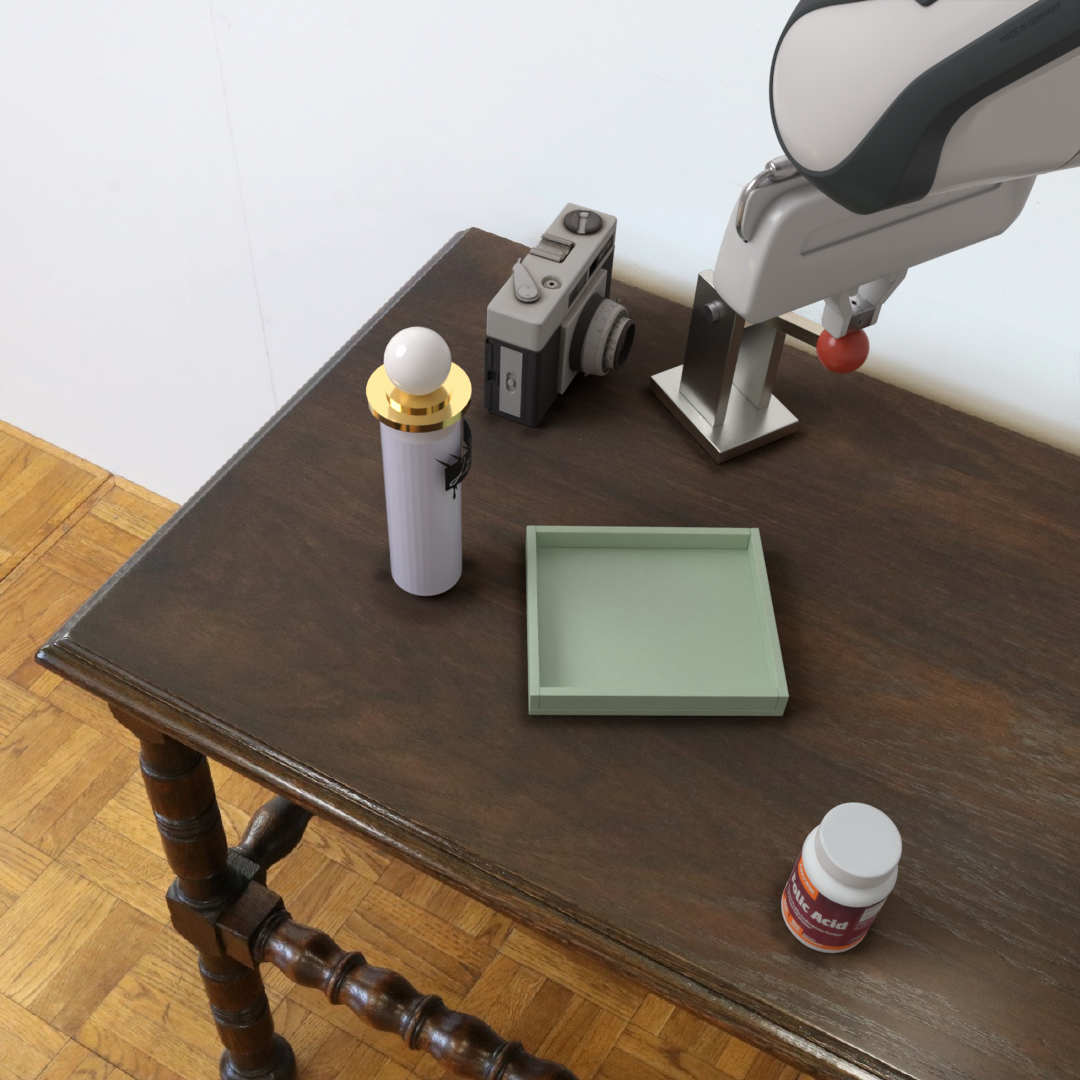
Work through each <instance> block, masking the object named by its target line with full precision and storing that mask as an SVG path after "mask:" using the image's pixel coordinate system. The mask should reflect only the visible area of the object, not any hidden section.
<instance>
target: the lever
mask: <svg viewBox="0 0 1080 1080" xmlns="http://www.w3.org/2000/svg"><path fill="white" fill-rule="evenodd" d="M762 323H764V324H767V325H769V326H771V327H773V328H775V329H777V330H779V331H781V332H783V333H786V335H788V336H790V337H792V338H794V339H797V340H799V341H801V342H803V343H805V344H807V345H809V346H811V347H814V348H815V351H816V355H817V359H818V361H819V363H820V364H821V365H822V366H823V367H824V368H825V369H826V370H827V371H830V372H831V373H834V374H840V375H845V374H850V373H852V372H855V371H857V370H859V369H860V368H861V367H862V366H863V365H864V364H865V362H867V361H866V360H867V359H868V357H869V354H870V349H871V347H870V345H871V344H870V339H869V336H868V334H867V332H866V331H865V330H864V328H863V329H861V330H858V331H855V332H852V333H850V334H847V335H845V336H843V337H840V338H837V339H836V338H834V337H833V336H832V335H831V334H830V333H828V332H827V331H826V330H825V329H824V328H823V326H822V324H820V323H819V322H815V320H814V321H813V320H811V319H809V318H807V317H805V316H802V315H800V314H798V313H795V312H794V311H792V312H788V313H785V314H783V315H780V316H777V317H775V318H772V319H769V320H767V321H764V322H762ZM752 325H755V324H752V323H749V322H748V321H745V326H744V328H746V327H749V326H752Z"/></svg>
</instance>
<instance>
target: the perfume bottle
mask: <svg viewBox="0 0 1080 1080" xmlns="http://www.w3.org/2000/svg"><path fill="white" fill-rule="evenodd" d="M367 380H368V381H367V384H366V387H365V388H366V389H365V394H366V403H367V406H368V410H369V411H370V412H371V414H372V416H374V418H375V419H376V420H377V421H378V422H379V429H380V430H379V431H380V444H381V445H380V446H381V454H382V455H381V458H382V469H383V470H382V471H383V481H384V482H383V485H384V496H385V497H384V498H385V508H386V509H385V511H386V522H387V534H388V549H389V562H390V571H391V572H390V574H391V576H392V579H393V580H394V583H395V584H396V585H397V586H398V587H399V588H400V589H402V590H403V591H405V592H407V593H409V594H411V595H415V596H421V597H429V596H430V597H431V596H437V595H440V594H442V593H445V592H447V591H449V590H451V589H452V588H453V587H454V586H455V585H456V584H457V583H458V582H459V580H460V578H461V576H462V573H463V514H462V513H463V508H462V507H463V506H462V505H463V504H462V503H463V502H462V482H463V481H464V480H465V479H466V477H467V476H468V474H469V472H470V471H471V468H472V462H473V461H472V460H473V459H472V457H473V455H472V453H473V451H472V448H473V447H472V446H473V445H472V444H473V440H472V439H473V437H472V430H471V427H470V425H469V422H468V421H467V420H466V419H465V417H464V416H465V415H466V413H467V412H468V410H469V408H470V406H471V403H472V397H473V396H472V391H473V389H472V383H471V380H470V378H469V376H468V374H467V373H466V371H465V370H464V369H463V368H461V367H460V365H458V364H456V363H455V362H453V361H452V352H451V350H450V348H449V345H448V343H447V342H446V340H445V339H444V338H443V336H441V335H440V333H438V332H436V331H435V330H433V329H431V328H428V327H425V326H411V327H405V328H404V329H401V330H399V331H398V332H396V334H395V335H393V336H392V337H391V339H390V340H389V342H388V344H386V347H385V350H384V354H383V364H382V365H380V366H379V367H377V368H376V369H375V370H374V371H373V372H372V373H371V375H370V377H369V379H367ZM462 421H463V422H462ZM462 425H463V426H462ZM462 431H463V433H462ZM462 434H463V437H462ZM462 438H463V439H462ZM462 441H463V442H464V443H465V445H466V446H465V445H462ZM462 449H464V450H466V452H465V453H464V454H463V456H462Z"/></svg>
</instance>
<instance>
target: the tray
mask: <svg viewBox="0 0 1080 1080" xmlns="http://www.w3.org/2000/svg"><path fill="white" fill-rule="evenodd" d="M760 533H761V532H760V528H759V527H750V528H749V527H699V526H698V527H697V526H696V527H695V526H694V527H691V526H689V527H685V526H679V527H677V526H612V525H611V526H601V525H600V526H599V525H597V526H596V525H595V526H594V525H587V526H586V525H526V531H525V577H526V578H525V584H526V585H525V587H526V588H525V589H526V635H527V637H526V639H527V642H526V643H527V644H526V645H527V691H528V694H527V695H528V715H529V716H677V717H678V716H680V717H682V716H686V717H688V716H692V717H694V716H696V717H697V716H701V717H702V716H703V717H704V716H705V717H709V716H711V717H712V716H713V717H783V716H784V713H785V710H786V707H787V705H788V701H789V698H790V693H789V688H788V683H787V678H786V672H785V667H784V666H785V665H784V661H783V655H782V648H781V643H780V639H779V633H778V627H777V622H776V615H775V611H774V605H773V600H772V594H771V590H770V589H771V587H770V582H769V578H768V572H767V567H766V561H765V555H764V550H763V544H762V538H761V534H760Z"/></svg>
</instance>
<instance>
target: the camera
mask: <svg viewBox="0 0 1080 1080" xmlns="http://www.w3.org/2000/svg"><path fill="white" fill-rule="evenodd" d="M617 227H618V218H617V217H616V216H615V215H612V214H609V213H606V212H602V211H599V210H596V209H592V208H588V207H586V206H582V205H580V204H579V205H578V204H575V203H572V202H567V203H566V204H565V206H564V207H562V209H561V210H560V212H559V213H558V215H557V216H556V217H555V218H554V220H553V221H552V223H551V224H549V226H548V227H547V229H546V230H545V231H544V232H543V233H542V234H541V235H540V238H541V239H540V241H539V243H538V244H537V245H536V247H534V246H532V247H531V249H529V250H530V251H529V253H527V255H526V256H525V257H524V259H522V257H518V259H517V262H516V263H515V264H514V265H513V267H512V268H511V274H510V276H509V278H508V279H507V280H506V282H505V283H504V284H503V286H502V287H500V289H499V291H498V292H497V293H496V294H495V296H494V297H493V298H492V300H491V301H490V302H489V303H488V305H487V307H486V308H487V309H486V333H485V337H484V376H483V377H484V386H483V388H484V389H483V408H484V409H487V412H488V413H491V414H493V415H495V416H499V417H502V418H504V419H507V420H510V421H513V422H516V423H518V424H522V425H525V426H529V427H532V428H535V427H537V426H538V425H539V423H540V422H541V421H542V420H543V418H544V416H545V415H546V413H547V412H548V410H549V409H550V407H551V406H552V405H553V403H554V402H555V400H556V399H557V397H558V395H559V394H560V395H564V394H565V391H566V390H567V388H568V387H569V385H570V384H571V382H572V381H573V380H574V378H575V377H576V375H577V374H578V372H580V373H584V375H583V376H584V377H587V376H589V375H595V376H602V377H603V376H605V375H607V374H608V373H609V372H610V370H611V369H612V370H615V371H619V370H620V369H622V368H623V367H624V366H625V364H626V362H627V360H628V358H629V355H630V353H631V350H632V348H633V344H634V340H635V337H636V330H637V329H636V328H637V325H636V322H635V321H634V320H633V319H632V318H631V319H630V318H628V311H627V308H626V307H625V306H623V304H620V302H621V300H622V299H621V298H619V297H616V300H615V301H614V300H612V299H610V294H611V286H612V275H613V269H614V268H613V267H614V256H615V248H616V245H615V244H616V234H617Z"/></svg>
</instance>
